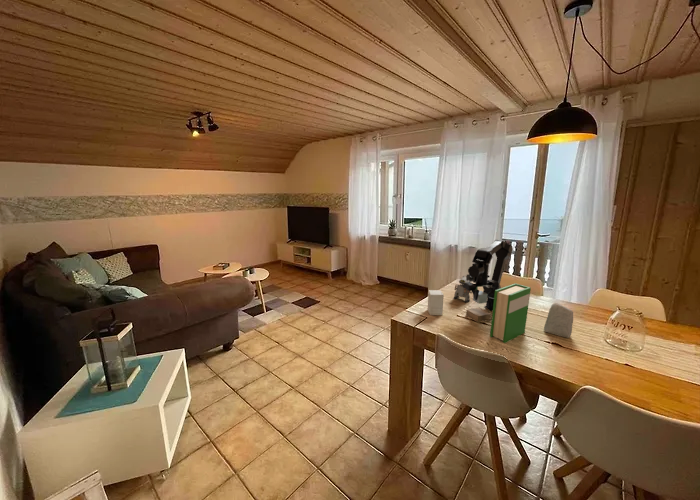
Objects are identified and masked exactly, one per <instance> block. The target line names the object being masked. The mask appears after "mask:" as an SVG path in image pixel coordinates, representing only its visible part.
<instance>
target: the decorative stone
mask: <svg viewBox="0 0 700 500" xmlns="http://www.w3.org/2000/svg"><path fill="white" fill-rule="evenodd" d="M573 323H574V311H573V310H571V309H570V308H568V307H566V306H564V305H562V304H560V303H559V302H554V303H552V304H551V306H550V308H549V310H548V314H547V318H546V320H545V324H544V328H543V331H544V332H546V333H548V334H552V335H556V336H559V337H562V338H567V339H570V338H571V336H572V333H573V332H572V331H573Z"/></svg>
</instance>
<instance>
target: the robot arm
mask: <svg viewBox="0 0 700 500" xmlns="http://www.w3.org/2000/svg"><path fill="white" fill-rule="evenodd" d="M494 254H495V256H496V260H495V266H494V269H493V272H492V276H490V275H489V270H490V269H489V268H490V264H491V261H492V260H493V258H494V257H493V256H494ZM512 254H513V246H512V245H511V244H510V243H508V242H506V241H505V240H503V239H495V240H494V241H493V242H492V243H490V244H489V245H488V246H486V247H482V248H478V249H477V251H476V252H475V254H474V256H473V259H472V260H471V263H472V265H471V266H470V267H468V269H467V272H468V274H466V279H467V280H469V281H472V282H466V283H464V284H463V288H465V289H467V290H469V291H472V297H473V296H474V299H475V300H477V298H478V294H479V291H480V290H479V289H478V288H481V287H482V288H483V292H484V293H486V294H487V303H485V305H484V308H485V309H487V310H489V311H491V312H493V304H494V295H495V290H498V289H500V288H502V287H501V280H502V278H503V277H502V276H503V273H504V269H505V265H506V261H507V260H508V259H509V258H510V257H511V255H512ZM490 277H491V279H488V278H490Z"/></svg>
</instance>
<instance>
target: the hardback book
mask: <svg viewBox="0 0 700 500" xmlns="http://www.w3.org/2000/svg"><path fill="white" fill-rule="evenodd" d="M531 291H532V290H531V287H530V286H528V285H527V286H526V285H522V284H520V283H516V282H515V283H513V284H509V285H506V286H504V287H501V288H500V289H498V290H495V295H494V304H493V311H492V313H491V323H490V324H491V325H490V334H489V337H490V338H493V337H494V338H497V339H499V340H501V341H502V343H503V344H506V343H508V342H510V341H513V340H514V339H515V338H518V337H519V336H521V335H523V334H525V333H526V326H527V319H528V311H529V303H530V298H531V297H530V295H531Z"/></svg>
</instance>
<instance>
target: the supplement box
mask: <svg viewBox="0 0 700 500" xmlns="http://www.w3.org/2000/svg"><path fill="white" fill-rule="evenodd" d="M427 295H428V297H427V299H428V300H427V311H428V314H429V315H430V316H443V313H444V297H445V295H444V293H443V291H442V290H438V289H436V290H434V289H429V290H428V293H427Z"/></svg>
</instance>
